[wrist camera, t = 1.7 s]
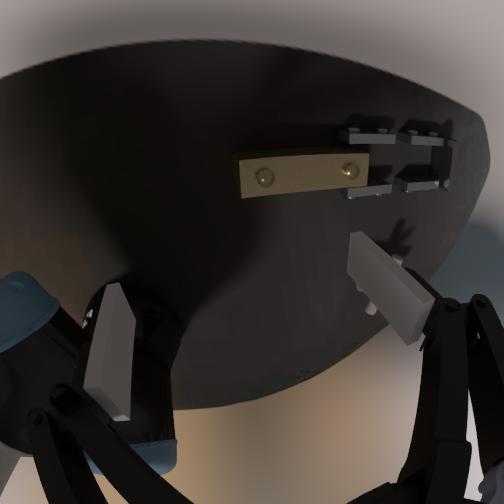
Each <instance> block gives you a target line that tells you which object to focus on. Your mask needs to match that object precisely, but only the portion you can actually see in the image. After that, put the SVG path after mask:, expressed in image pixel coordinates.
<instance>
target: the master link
mask: <svg viewBox="0 0 504 504" xmlns="http://www.w3.org/2000/svg"><path fill="white" fill-rule="evenodd" d="M232 157H233V171H234V184H235V188H236V189H237V191H238V193H239V195H240V196H241V198H249V197H257V196H266V195H274V194H283V193H292V192H302V191H312V190H323V189H335V188H348V187H361V186H367V178H368V166H369V153H366V152H364V151H361V150H359V149H356V148H353V147H351V146H337V147H302V148H283V149H268V150H256V151H245V152H235V153H232Z"/></svg>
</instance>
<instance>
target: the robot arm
mask: <svg viewBox="0 0 504 504" xmlns="http://www.w3.org/2000/svg"><path fill="white" fill-rule="evenodd" d="M347 273H348V274H349V275H350V277H351V278H352V279H353V280H354V281H355V282H356V284H357V285H358V286H359V287H360V288H361V289H362V291H363V292H364V293H365V294H366V295H367V297H368V298H369V299H370V300H371V301H372V302H373V304H374V305H375V306H376V307H377V309H378V310H379V311H380V312H381V313H382V315H383V316H384V317H385V318H386V320H387V321H388V322H389V323H390V325H391V326H392V327H393V328H394V330H395V331H396V332H397V333H398V335H399V336H400V337H401V338H402V340H403V341H404V342H405V343H406V344H407V345H410V344H412V343H414V342H416V341H418V340H419V338H420V336H421V333H422V332H423V333H424V335H425V336H426V337H425V339H424V341H423V343H422V345H421V347H420V350H419V351H422V349H423V347H424V349H423V350H424V351H423V363H422V375H421V384H420V392H419V400H418V407H417V414H416V419H415V424H414V430H413V435H412V439H411V444H410V448H409V453H408V457H407V460H406V462H405V464H404V466H403V468H402V469H401V471H400V474H399V477H398V480H397V483H392V484H390V483H389V482H387V483H385V484H383V485H381V486H379V487H377V488H375V489H373V490H371V491H369V492H367V493H364V494H363V495H361V496H359V497H357V498H356V499H354V500H352V501H350V502H348V503H347V504H504V328H503V326H502V324H501V322H500V320H499V318H498V315H497V313H496V311H495V309H494V307H493V305H492V303H491V302H490V300H489V299H488V298H487V297H486V296H484V295H481V294H475V295H473V296H472V298H471V301H470V303H462V304H460V303H459V302H458V301H457V300H455V299H452V298H443V297H442V296H441V295H440V294H439V293H438V292H437V291H436V290H434V289H433V288H432V287H431V286H430V285H429V284H428V283H426V281H425V280H424V279H423V278H421V276H420V275H418V274H417V273H416V272H415V271H413V270H411V269H409V268H407V267H406V268H402V267H401V266H400V265H399V264H398V263H397V262H396V261H395V260H394V259H393V258H391V257H390V256H389V255H388V254H387V253H386V252H385V251H384V250H382V249H381V248H380V247H379V246H378V245H377V244H376V243H374V242H373V241H372V240H371V239H370V238H369V237H367V236H366V235H365V234H364V233H363V232H362V231H359V232H355V233H350V243H349V254H348V264H347ZM478 333H479V336H480V338H478V335H477V334H478ZM180 343H181V324H180V320H179V318H178V315H177V314H176V312H175V311H174V309H173V308H172V307H171V306H170V305H169V304H168V303H167V302H166V301H165V300H163V299H162V298H160V297H159V296H157V295H155V294H153V293H150V292H148V291H145V290H142V289H137V288H131V287H121V286H120V283H114V284H109V285H107V286H106V289H105V291H103V292H101V293H99V294H98V295H96V296H95V297H94V298H93V299H92V300H91V301H90V303H89V304H88V306H87V309H86V312H85V315H84V319H83V328H82V327H81V326H80V325H79V324H78V323H77V322H76V321H75V320H74V319H73V318H72V317H71V316H70V315H69V314H68V313H67V312H66V311H65V310H64V309H63V308H62V307H61V306H60V302H59V301H58V300H57V299H56V298H54V297H53V296H51V295H50V294H49V293H48V292H47V291H46V290H45V289H44V288H43V287H42V286H41V285H40V284H39V283H38V282H37V281H36V280H35V278H34V277H32V276H31V275H30V274H28V273H26V272H22V271H16V272H12V273H10V274H8V275H6V276H5V277H3V278H2V279H0V496H1V494H2V492H3V490H4V487H5V486H6V484H7V482H8V480H9V478H10V476H11V474H12V472H13V470H14V468H15V466H16V464H17V462H18V460H19V459H20V457H33V458H34V461H35V465H36V468H37V471H38V475H39V478H40V481H41V484H42V487H43V489H44V492H45V495H46V498H47V500H48V503H49V504H108V502H107V501H106V499H105V497H104V495H103V493H102V491H101V489H100V487H99V485H98V483H97V481H96V479H95V477H94V475H93V473H96V474H100V475H104V476H105V477H106V479H107V480H108V481H109V482H110V483H111V484H112V486H113V487H114V488H115V489H116V490H117V491H118V492H119V494H120V495H122V497H123V498H124V499H125V500H126V501H127V502H128V503H129V504H194V503H193V502H191V501H190V500H189V499H187V498H186V497H185V496H183V495H182V494H181V493H180V492H179V491H178V490H176V489H175V488H174V487H172V485H170V484H169V483H168V482H167V481H166V480H165V479H163V478H162V477H161V476H160V475H162V474H165V473H168V472H170V471H171V470H172V469H173V468H174V467H175V465H176V462H177V440H176V438H175V429H174V419H173V405H172V391H171V372H170V371H171V368H172V365H173V363H174V360H175V358H176V355H177V352H178V350H179V347H180ZM468 389H469V393H470V397H471V403H472V407H473V413H474V419H475V425H476V432H477V439H478V448H479V457H480V464H481V468H482V472H483V475H484V479H483V481H482V482H481V483H480V484H479V486H478V491H479V492H480V493H481V494H482V493H483V494H482V498H481V501H474V500H470V499H465V498H464V493H465V490H466V485H467V479H468V474H469V467H470V461H471V454H472V446H471V443H470V442H468V441H467V440H466V431H467V417H468Z"/></svg>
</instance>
